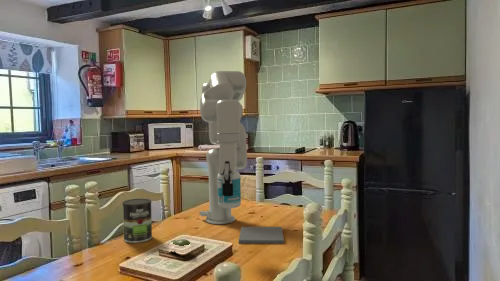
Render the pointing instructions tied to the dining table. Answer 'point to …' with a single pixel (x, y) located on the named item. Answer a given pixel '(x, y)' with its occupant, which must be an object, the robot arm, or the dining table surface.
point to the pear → (181, 242)
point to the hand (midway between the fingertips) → (229, 192)
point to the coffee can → (137, 220)
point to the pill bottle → (236, 198)
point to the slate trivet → (261, 235)
